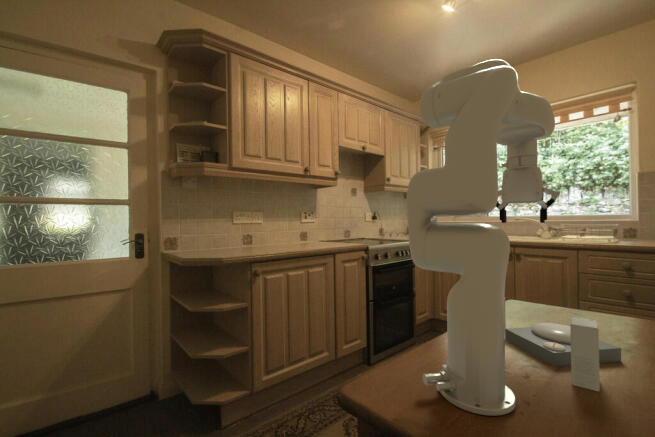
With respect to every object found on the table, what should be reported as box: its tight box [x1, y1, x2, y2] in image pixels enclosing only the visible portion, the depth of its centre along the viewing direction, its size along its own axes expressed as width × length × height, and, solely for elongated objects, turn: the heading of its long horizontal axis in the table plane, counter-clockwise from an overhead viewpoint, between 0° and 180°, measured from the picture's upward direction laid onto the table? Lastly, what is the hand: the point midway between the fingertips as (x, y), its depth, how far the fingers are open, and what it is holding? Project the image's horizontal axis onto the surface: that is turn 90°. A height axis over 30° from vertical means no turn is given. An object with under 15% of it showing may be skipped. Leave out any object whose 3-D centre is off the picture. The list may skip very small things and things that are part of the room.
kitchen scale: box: [505, 322, 622, 368], centre depth 75 cm, size 17×15×4 cm
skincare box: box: [570, 316, 601, 392], centre depth 60 cm, size 6×4×12 cm
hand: (522, 222), depth 89 cm, fingers open, 9 cm apart
